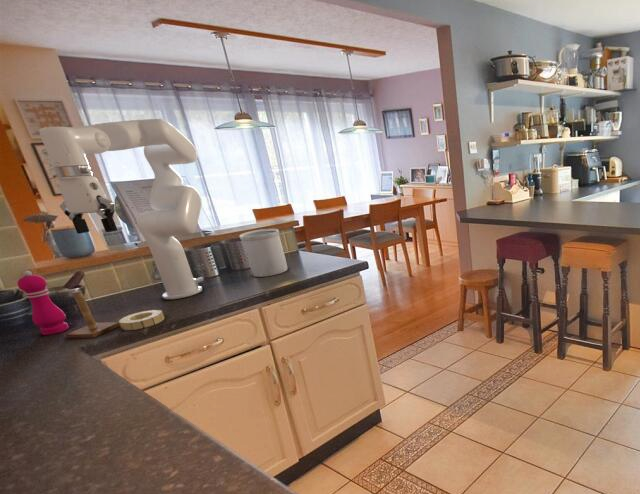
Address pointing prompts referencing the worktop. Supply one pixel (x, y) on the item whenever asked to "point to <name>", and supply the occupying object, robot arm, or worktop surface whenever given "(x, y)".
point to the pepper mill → (42, 305)
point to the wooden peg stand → (89, 321)
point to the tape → (141, 320)
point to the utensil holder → (264, 252)
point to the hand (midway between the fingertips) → (97, 232)
